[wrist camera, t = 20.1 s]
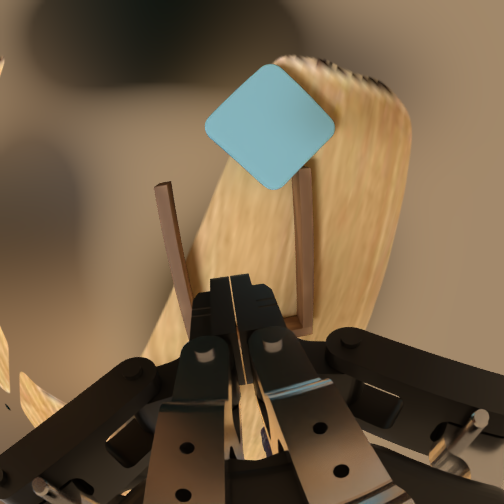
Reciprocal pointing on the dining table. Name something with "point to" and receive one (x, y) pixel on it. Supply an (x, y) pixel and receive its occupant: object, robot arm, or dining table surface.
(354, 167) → the dining table surface
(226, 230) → the dining table surface
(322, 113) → the data package
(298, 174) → the walnut frame
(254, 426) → the dining table surface
